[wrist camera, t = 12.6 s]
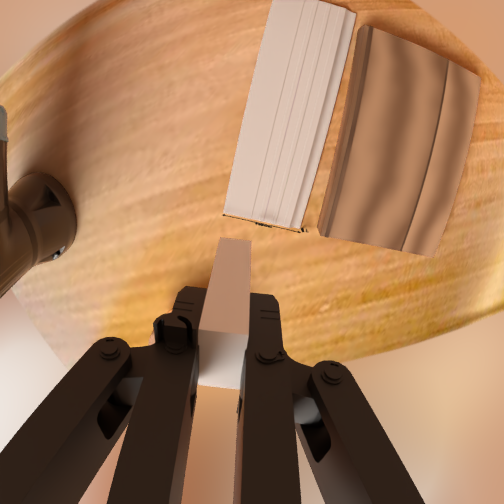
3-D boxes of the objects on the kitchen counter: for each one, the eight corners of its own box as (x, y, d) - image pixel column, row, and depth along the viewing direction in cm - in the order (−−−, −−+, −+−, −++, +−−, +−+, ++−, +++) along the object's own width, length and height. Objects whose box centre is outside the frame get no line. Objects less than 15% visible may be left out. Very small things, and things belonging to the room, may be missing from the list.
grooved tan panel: (317, 226, 42) (320, 236, 39) (358, 29, 29) (365, 24, 26) (425, 248, 42) (434, 258, 40) (469, 78, 30) (481, 77, 27)
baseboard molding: (364, 19, 29) (275, -6, 28) (371, 13, 26) (275, -14, 26) (308, 229, 43) (224, 209, 42) (311, 237, 40) (221, 216, 39)
